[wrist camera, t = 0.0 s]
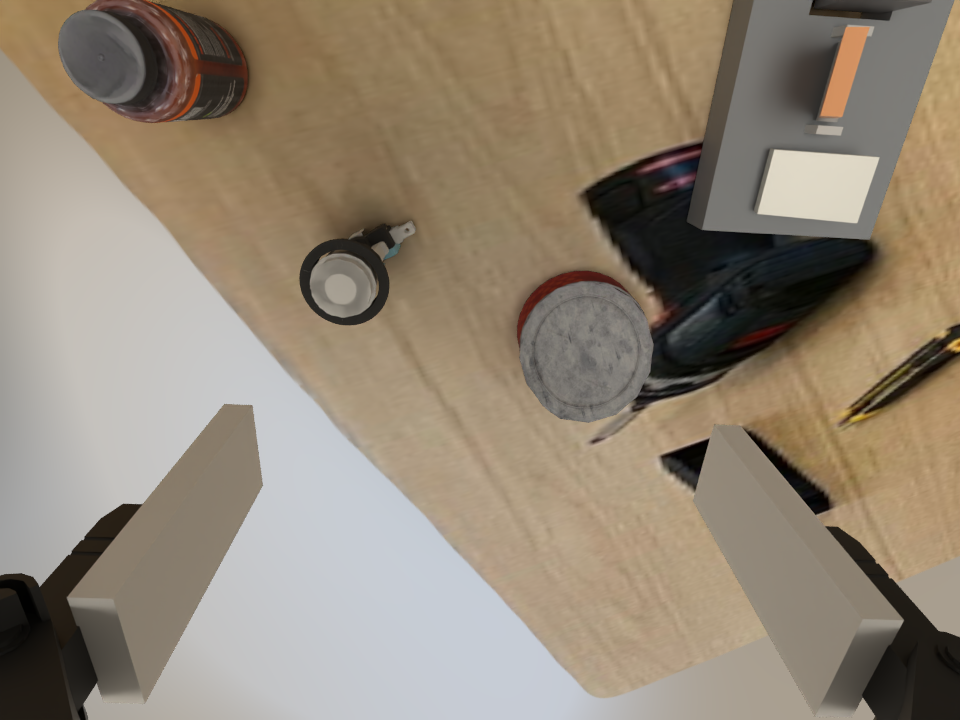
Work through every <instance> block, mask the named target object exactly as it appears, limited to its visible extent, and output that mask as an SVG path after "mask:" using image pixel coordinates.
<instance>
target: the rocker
mask: <svg viewBox="0 0 960 720" xmlns="http://www.w3.org/2000/svg"><path fill="white" fill-rule="evenodd" d="M879 158H880V157H875V156H865V155H852V154H838V153H824V152H811V151H797V150H783V149H770V151H769V155H768V158H767V162H766V166H765V170H764V174H763V178H762V181H761V185H760V189H759V193H758V197H757V200H756V204H755V208H754V212H756V213H757V214H763V215H774V216H784V217H795V218H806V219H816V220H827V221H837V222H848V223H857V222H858V219H859V216H860V213H861V211H862V208H863V205H864V202H865V199H866V196H867V193H868V190H869V187H870V184H871V181H872V178H873V175H874V173H875V170H876V167H877V164H878V161H879Z"/></svg>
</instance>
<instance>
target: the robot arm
mask: <svg viewBox="0 0 960 720" xmlns="http://www.w3.org/2000/svg"><path fill="white" fill-rule="evenodd" d="M262 486H263V483H262V475H261V468H260V460H259V452H258V445H257V438H256V429H255V422H254V414H253V407H252V405H232V404H224V405H223V406H222V408H221V409H220V410H219V411H218V413H217V414H216V415H215V416H214V417H213V419H212V420H211V421H210V422H209V424H208V425H207V426H206V427H205V429H204V430H203V431H202V432H201V433H200V435H199V436H198V437H197V438H196V440H195V441H194V442H193V443H192V444H191V446H190V447H189V448H188V449H187V451H186V452H185V453H184V454H183V456H182V457H181V458H180V459H179V460H178V462H177V463H176V464H175V465H174V467H173V468H172V469H171V470H170V472H169V473H168V474H167V475H166V476H165V478H164V479H163V480H162V481H161V482H160V484H159V485H158V486H157V488H156V489H155V490H154V491H153V492H152V494H151V495H150V496H149V497H148V498H147V500H146V501H145V502H144V503H143V504H122V505H121V506H119V507H118V508H116V509H115V510H113V511H112V512H110V513H109V514H107V515H106V516H104V517H103V518H101V519H100V520H99V521H98V522H97V523H96V525H95V526H94V527H93V528H92V529H91V530H90V531H89V532H88V533H87V534H86V536H85V539H84V540H81V541H80V542H79V544H78V545H77V546H76V547H75V548H74V549H73V550H72V553H71V555H68V556H67V557H66V558H65V559H64V560H63V562H62V563H61V564H60V565H59V566H58V567H57V568H56V569H55V571H54V572H53V573H52V574H51V575H50V576H49V577H48V578H47V579H46V581H45V582H44V583H43V584H42V585H41V586H40V587H39V585H38V583H37V582H36V580H35V579H34V578H33V577H31V576H28V575H25V574H22V573H20V574H4V575H1V576H0V720H88V716H87V712H86V710H85V707H84V705H83V703H84V702H85V700H86V699H87V697H88V696H89V694H90V692H91V691H92V689H93V688H94V686H95V685H96V683H97V685H98V688H99V690H100V694H101V696H102V699H103V702H104V703H140V704H144V703H145V702H146V701H147V699H148V697H149V695H150V693H151V691H152V690H153V688H154V686H155V684H156V682H157V680H158V678H159V677H160V675H161V673H162V671H163V669H164V667H165V666H166V664H167V662H168V660H169V658H170V656H171V654H172V653H173V651H174V649H175V647H176V645H177V643H178V641H179V640H180V638H181V636H182V634H183V632H184V630H185V628H186V627H187V624H188V623H189V621H190V619H191V617H192V615H193V614H194V612H195V610H196V608H197V606H198V604H199V602H200V601H201V599H202V597H203V595H204V593H205V592H206V590H207V588H208V586H209V584H210V582H211V580H212V579H213V577H214V575H215V573H216V571H217V569H218V567H219V566H220V564H221V562H222V560H223V558H224V556H225V555H226V553H227V551H228V549H229V547H230V545H231V543H232V541H233V540H234V538H235V536H236V534H237V532H238V530H239V529H240V527H241V525H242V523H243V521H244V519H245V517H246V516H247V514H248V512H249V510H250V508H251V506H252V505H253V503H254V501H255V499H256V497H257V495H258V493H259V492H260V490H261V488H262ZM693 502H694V504H695V505H696V507H697V509H698V511H699V512H700V514H701V516H702V518H703V520H704V521H705V523H706V525H707V527H708V528H709V530H710V532H711V534H712V535H713V537H714V539H715V541H716V543H717V544H718V546H719V548H720V550H721V551H722V553H723V555H724V557H725V559H726V560H727V562H728V564H729V566H730V567H731V569H732V571H733V573H734V574H735V576H736V578H737V580H738V582H739V583H740V585H741V587H742V589H743V590H744V592H745V594H746V596H747V597H748V599H749V601H750V603H751V605H752V606H753V608H754V610H755V612H756V613H757V615H758V617H759V619H760V621H761V622H762V624H763V626H764V628H765V629H766V631H767V633H768V635H769V636H770V638H771V640H772V642H773V643H774V645H775V647H776V649H777V651H778V652H779V654H780V656H781V658H782V659H783V661H784V663H785V665H786V666H787V668H788V670H789V672H790V674H791V675H792V677H793V679H794V681H795V683H796V684H797V686H798V688H799V690H800V691H801V693H802V695H803V697H804V698H805V700H806V702H807V704H808V705H809V707H810V709H811V711H812V713H813V714H814V716H815V717H852V716H853V714H854V712H855V711H856V709H857V707H858V705H859V703H860V701H861V699H862V698H864V700H865V701H866V703H867V704H868V706H869V707H870V709H871V710H872V712H873V713H874V715H875V718H874V720H960V637H957V636H955V635H952V634H949V633H947V632H940V631H938V630H937V629H936V628H935V627H934V625H933V624H932V623H931V622H930V621H929V620H928V619H927V618H926V616H925V615H924V614H923V613H922V612H921V611H920V610H919V609H918V607H917V606H916V605H915V604H914V603H913V602H912V601H911V600H910V599H909V597H908V596H907V595H906V594H905V593H904V592H903V591H902V590H901V588H899V586H898V585H897V584H896V583H895V582H894V580H893V579H892V578H889V577H888V574H887V573H886V571H885V570H884V569H883V568H882V567H881V566H880V565H879V564H876V562H875V559H874V558H873V557H872V556H871V555H870V554H869V552H868V551H867V550H866V549H865V548H864V547H863V546H862V545H861V543H860V542H858V541H857V540H855V539H854V538H853V537H851V536H850V535H848V534H847V533H846V532H844V531H843V530H841V529H840V528H839V527H829V526H824V525H823V523H822V522H821V521H820V520H819V519H818V518H817V516H816V515H815V514H814V513H813V512H812V510H811V509H810V508H809V507H808V506H807V505H806V503H805V502H804V501H803V500H802V499H801V497H800V496H799V495H798V494H797V493H796V491H795V490H794V489H793V488H792V487H791V486H790V484H789V483H788V482H787V481H786V480H785V478H784V477H783V476H782V475H781V474H780V472H779V471H778V470H777V469H776V468H775V467H774V465H773V464H772V463H771V462H770V461H769V459H768V458H767V457H766V456H765V455H764V453H763V452H762V451H761V450H760V449H759V448H758V446H757V445H756V444H755V443H754V442H753V440H752V439H751V438H750V437H749V436H748V435H747V433H746V432H745V431H744V430H743V429H742V427H741V426H738V425H714V426H713V430H712V433H711V437H710V441H709V444H708V448H707V452H706V455H705V459H704V463H703V466H702V470H701V473H700V477H699V481H698V484H697V488H696V492H695V495H694V499H693Z"/></svg>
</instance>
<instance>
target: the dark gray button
mask: <svg viewBox="0 0 960 720" xmlns="http://www.w3.org/2000/svg"><path fill="white" fill-rule="evenodd" d="M931 2H932V0H816V1H815V5H814V9H825V10H838V11H852V12H865V13H879V14H882V13H886V12H891V11H896V10H900V9H905V8H909V7H914V6H918V5H923V4H927V3H931Z"/></svg>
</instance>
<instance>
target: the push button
mask: <svg viewBox="0 0 960 720" xmlns="http://www.w3.org/2000/svg"><path fill="white" fill-rule="evenodd" d="M405 228H408V229H409V230H410V231H407V230H406V229H405ZM364 230H365V229H362V230H360V231H358V232H356V233H354V234H352V235H351V236H350V237H349V239H333V240H329V241H326V242H324V243H322V244H320V245H318V246H317V247H315V248H314V249H313V250H312V251H311V252H310V253H309V254H308V255H307V257H306V258H305V260H304V262H303V264H302V267H301V270H300V287H301V291H302V294H303V296H304V298H305V300H306V302H307V303H308V305H309V306H310V307H311V309H312V310H313V311H314V312H315V313H317V314H318V315H319V316H321V317H322V318H324V319H325V320H327V321H330V322H332V323H335V324H340V325H357V324H361V323H364V322H366V321H368V320H370V319H372V318H373V317H374V316H376V315H377V314H378V313H379V312H380V310H381V309H382V308H383V306H384V304H385V302H386V300H387V297H388V293H389V277H388V273H387V270H386V268H385V266H384V265H385V263H383V262H382V261H383V260H385V259H387V258H390V257H392V256H394V255H396V254H397V253H398V251H399V249H400V247H401V245H400V243H401V242H403V239H405V238H406V237H408V236H410V235H412V234H414V233H415V231H416V228H415V226H414V224H413V222H412V221H409V222H407V223H405V224H403V225H401V226H399V227H398V225H397V226H395V227H393V228H391V227H390V225H389V226H386V224H382V225H380V226H378V227H377V228H375V229H374V230H372V231H371V232H370V233H368V234H366V235H365V236H363V234H362V232H363V231H364ZM328 252H330V253H329V254H328V255H327V256H326V257H324V258H322V259H321V260H319V259H320V257H321V256H322V255H324V254H326V253H328ZM318 261H319V262H318ZM377 280H378V281H379V292H378V296H377V297H376V298H375V295H376V285H377ZM374 298H375V299H374Z"/></svg>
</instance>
